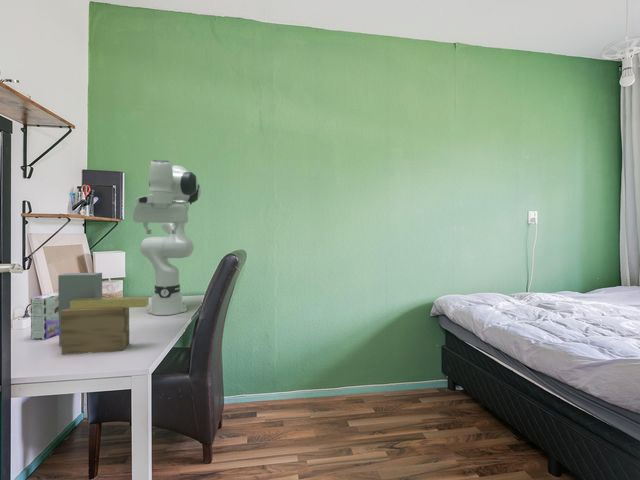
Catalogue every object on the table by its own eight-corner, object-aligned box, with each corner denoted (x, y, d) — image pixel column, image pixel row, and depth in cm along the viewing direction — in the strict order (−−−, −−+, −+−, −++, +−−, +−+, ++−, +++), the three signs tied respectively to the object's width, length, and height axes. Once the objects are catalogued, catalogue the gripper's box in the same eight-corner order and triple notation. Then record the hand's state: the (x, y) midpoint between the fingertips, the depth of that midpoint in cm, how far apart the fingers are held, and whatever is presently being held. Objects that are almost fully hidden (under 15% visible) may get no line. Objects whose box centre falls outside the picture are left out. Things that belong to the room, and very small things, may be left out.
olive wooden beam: (75, 306, 121) (75, 298, 120) (148, 304, 126) (148, 296, 126) (70, 309, 117) (70, 301, 117) (145, 306, 122) (145, 298, 122)
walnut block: (71, 347, 122) (71, 306, 122) (129, 344, 126) (129, 304, 126) (61, 354, 115) (60, 310, 115) (122, 350, 119) (122, 308, 119)
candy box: (59, 329, 143) (58, 290, 143) (72, 329, 143) (72, 290, 143) (30, 339, 130) (29, 297, 129) (45, 340, 129) (44, 297, 129)
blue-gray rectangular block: (67, 340, 129) (66, 273, 128) (102, 338, 131) (102, 272, 130) (59, 346, 123) (58, 275, 122) (95, 344, 125) (95, 274, 125)
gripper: (189, 201, 141) (189, 234, 142) (136, 199, 137) (136, 233, 137) (187, 200, 135) (187, 234, 136) (131, 198, 131) (131, 234, 131)
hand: (161, 234), depth 136 cm, fingers open, 8 cm apart
